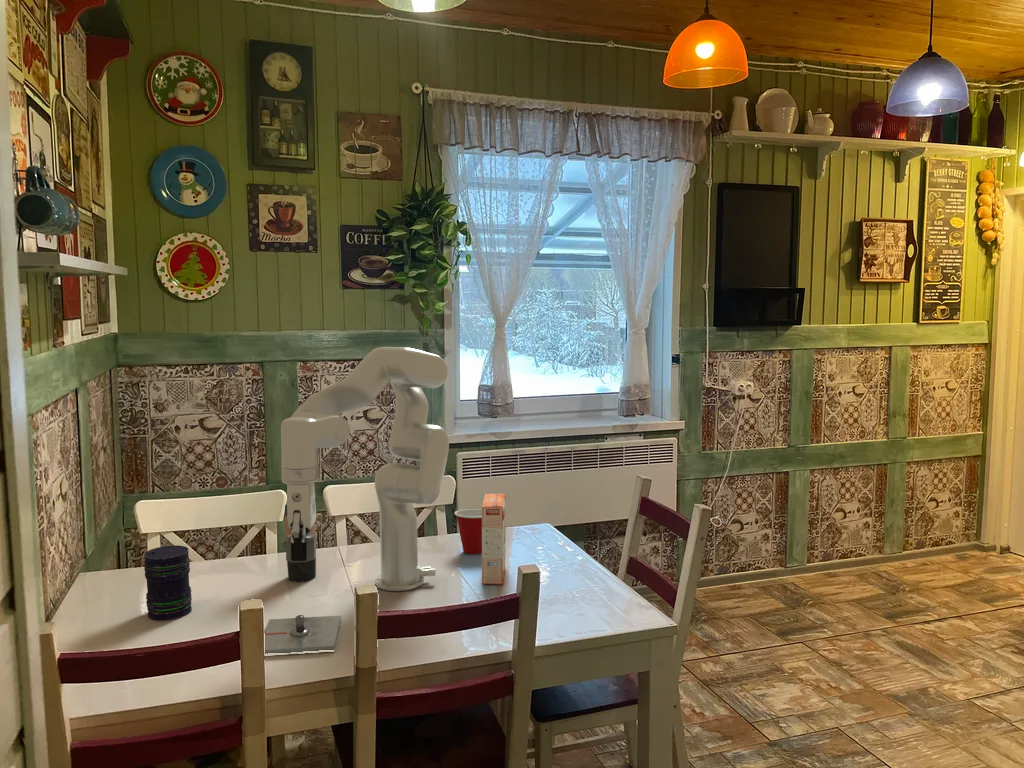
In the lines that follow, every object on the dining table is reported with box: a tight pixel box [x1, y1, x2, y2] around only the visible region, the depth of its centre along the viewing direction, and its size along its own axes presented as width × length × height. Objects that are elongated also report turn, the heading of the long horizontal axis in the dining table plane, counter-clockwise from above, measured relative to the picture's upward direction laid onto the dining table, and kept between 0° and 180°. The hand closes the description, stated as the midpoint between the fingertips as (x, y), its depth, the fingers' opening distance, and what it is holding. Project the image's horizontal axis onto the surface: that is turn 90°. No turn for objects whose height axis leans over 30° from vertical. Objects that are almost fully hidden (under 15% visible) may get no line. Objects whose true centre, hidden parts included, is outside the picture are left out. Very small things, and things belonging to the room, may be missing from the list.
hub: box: [264, 614, 342, 654], centre depth 174 cm, size 16×16×5 cm
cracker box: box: [481, 493, 507, 585], centre depth 211 cm, size 14×6×21 cm, turn 178°
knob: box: [285, 533, 317, 563], centre depth 173 cm, size 6×6×5 cm
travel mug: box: [284, 503, 317, 583], centre depth 211 cm, size 8×8×20 cm
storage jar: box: [143, 545, 193, 622], centre depth 188 cm, size 10×10×15 cm
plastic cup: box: [454, 508, 482, 555], centre depth 232 cm, size 11×11×12 cm
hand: (301, 554), depth 173 cm, fingers closed on knob, 6 cm apart
